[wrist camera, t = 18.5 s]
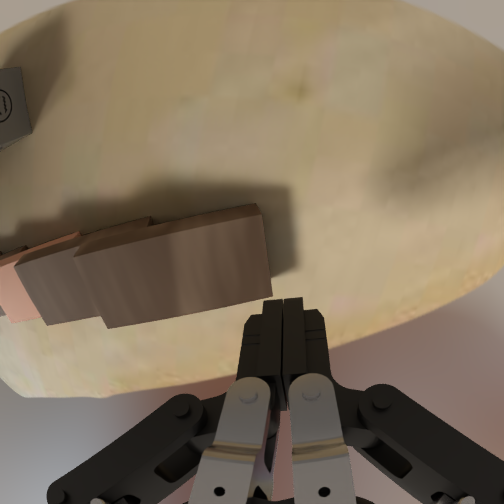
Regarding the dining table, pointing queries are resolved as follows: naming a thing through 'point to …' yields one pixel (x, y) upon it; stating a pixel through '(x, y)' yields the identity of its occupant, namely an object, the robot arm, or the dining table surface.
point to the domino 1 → (20, 286)
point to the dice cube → (12, 108)
